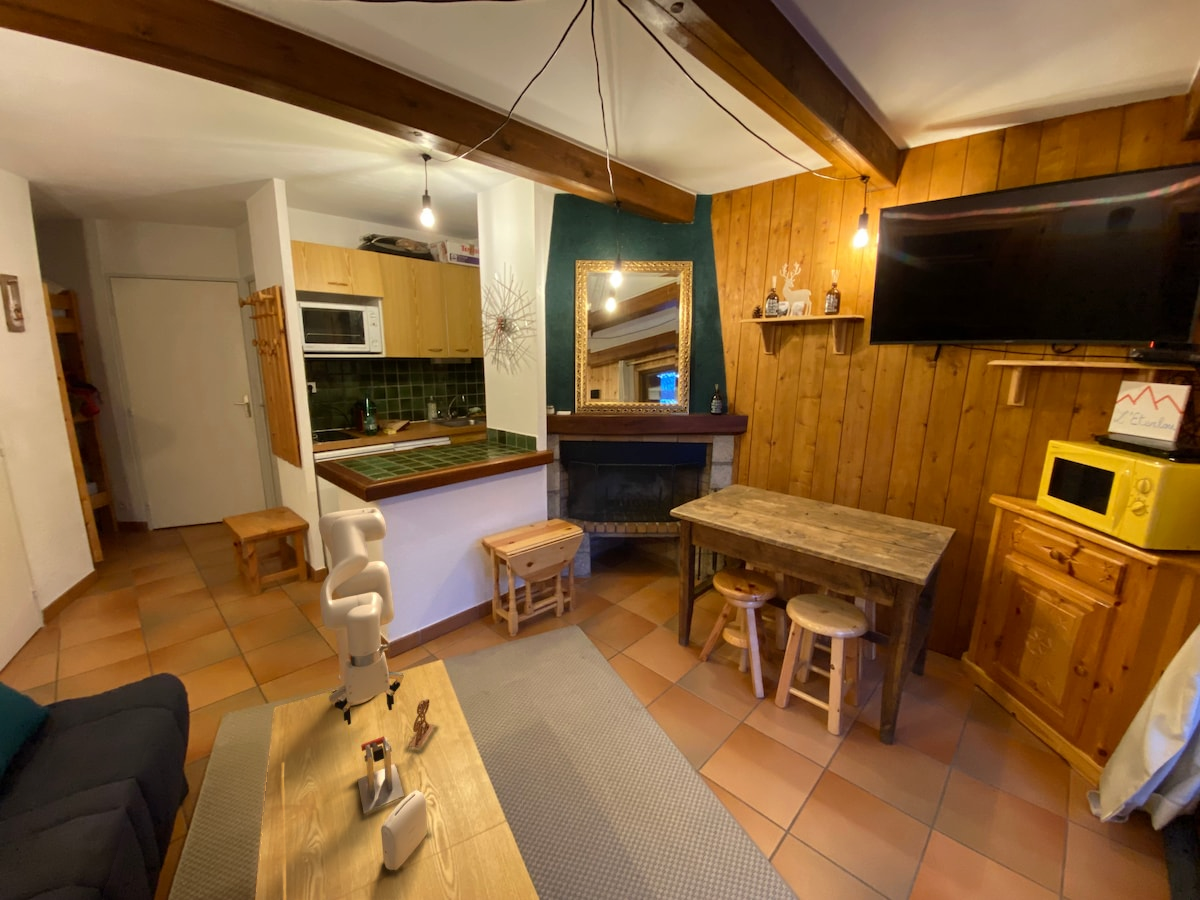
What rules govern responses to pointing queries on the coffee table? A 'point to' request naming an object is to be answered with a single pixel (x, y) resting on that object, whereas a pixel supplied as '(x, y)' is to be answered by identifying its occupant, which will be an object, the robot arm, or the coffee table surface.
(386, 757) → the bracket
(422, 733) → the brown filigree ornament
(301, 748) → the coffee table surface
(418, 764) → the coffee table surface
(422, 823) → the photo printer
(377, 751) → the lever
